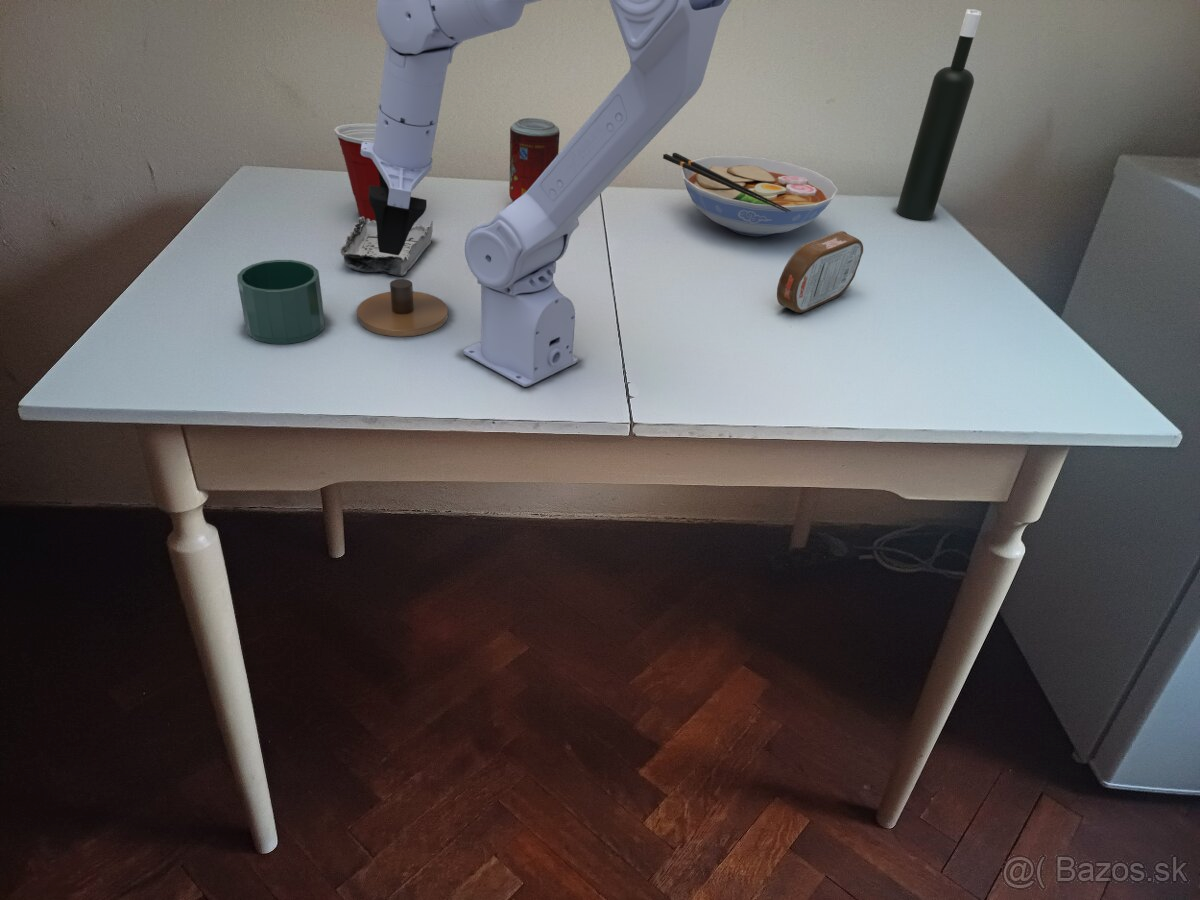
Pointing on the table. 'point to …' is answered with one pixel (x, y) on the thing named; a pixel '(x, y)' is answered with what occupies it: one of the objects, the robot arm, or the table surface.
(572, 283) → the table surface
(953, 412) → the table surface
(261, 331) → the cup
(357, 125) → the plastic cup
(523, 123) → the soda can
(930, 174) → the wine bottle
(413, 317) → the knobbed round lid
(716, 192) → the ramen bowl
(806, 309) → the tin
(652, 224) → the table surface
